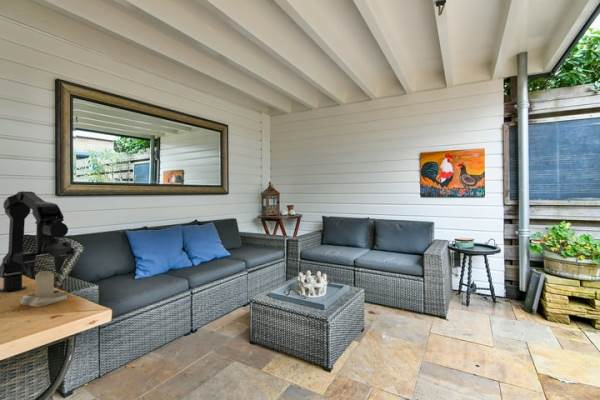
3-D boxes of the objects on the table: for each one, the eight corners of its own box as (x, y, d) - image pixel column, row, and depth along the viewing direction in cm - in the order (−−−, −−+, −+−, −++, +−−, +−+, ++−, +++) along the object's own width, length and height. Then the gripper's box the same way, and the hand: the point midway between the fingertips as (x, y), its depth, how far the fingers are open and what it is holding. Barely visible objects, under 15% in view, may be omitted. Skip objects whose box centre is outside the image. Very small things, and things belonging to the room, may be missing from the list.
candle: (57, 294, 120) (57, 269, 120) (44, 299, 115) (44, 273, 115) (44, 294, 121) (45, 269, 121) (31, 298, 115) (31, 272, 115)
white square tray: (20, 303, 114) (20, 296, 114) (48, 296, 124) (48, 288, 124) (39, 307, 112) (39, 299, 112) (67, 298, 121) (67, 291, 121)
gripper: (34, 239, 107) (33, 284, 107) (84, 234, 124) (84, 272, 124) (11, 238, 110) (11, 281, 110) (64, 233, 128) (63, 270, 128)
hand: (45, 275), depth 118 cm, fingers open, 9 cm apart
